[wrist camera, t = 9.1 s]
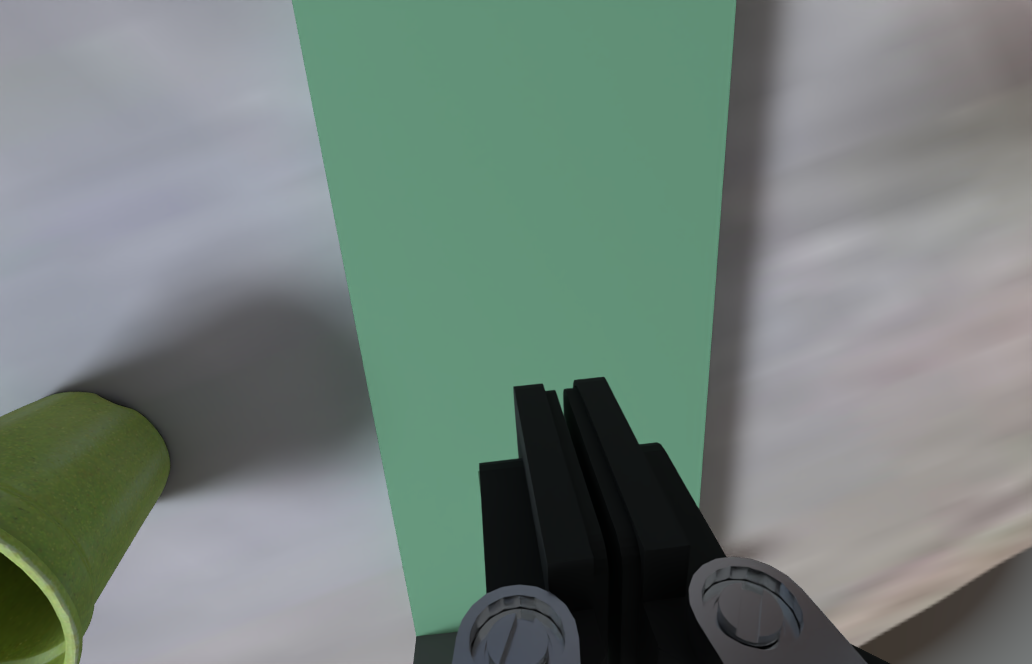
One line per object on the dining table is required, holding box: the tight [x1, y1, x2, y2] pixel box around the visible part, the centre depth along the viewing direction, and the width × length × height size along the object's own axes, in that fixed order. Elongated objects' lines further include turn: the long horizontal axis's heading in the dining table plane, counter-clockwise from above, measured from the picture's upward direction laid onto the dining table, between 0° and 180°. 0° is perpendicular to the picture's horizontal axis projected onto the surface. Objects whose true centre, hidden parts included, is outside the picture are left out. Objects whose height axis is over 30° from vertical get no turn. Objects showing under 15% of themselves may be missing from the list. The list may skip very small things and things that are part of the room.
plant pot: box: [0, 392, 170, 664], centre depth 19 cm, size 9×9×9 cm
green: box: [292, 0, 736, 664], centre depth 20 cm, size 28×13×4 cm, turn 4°
